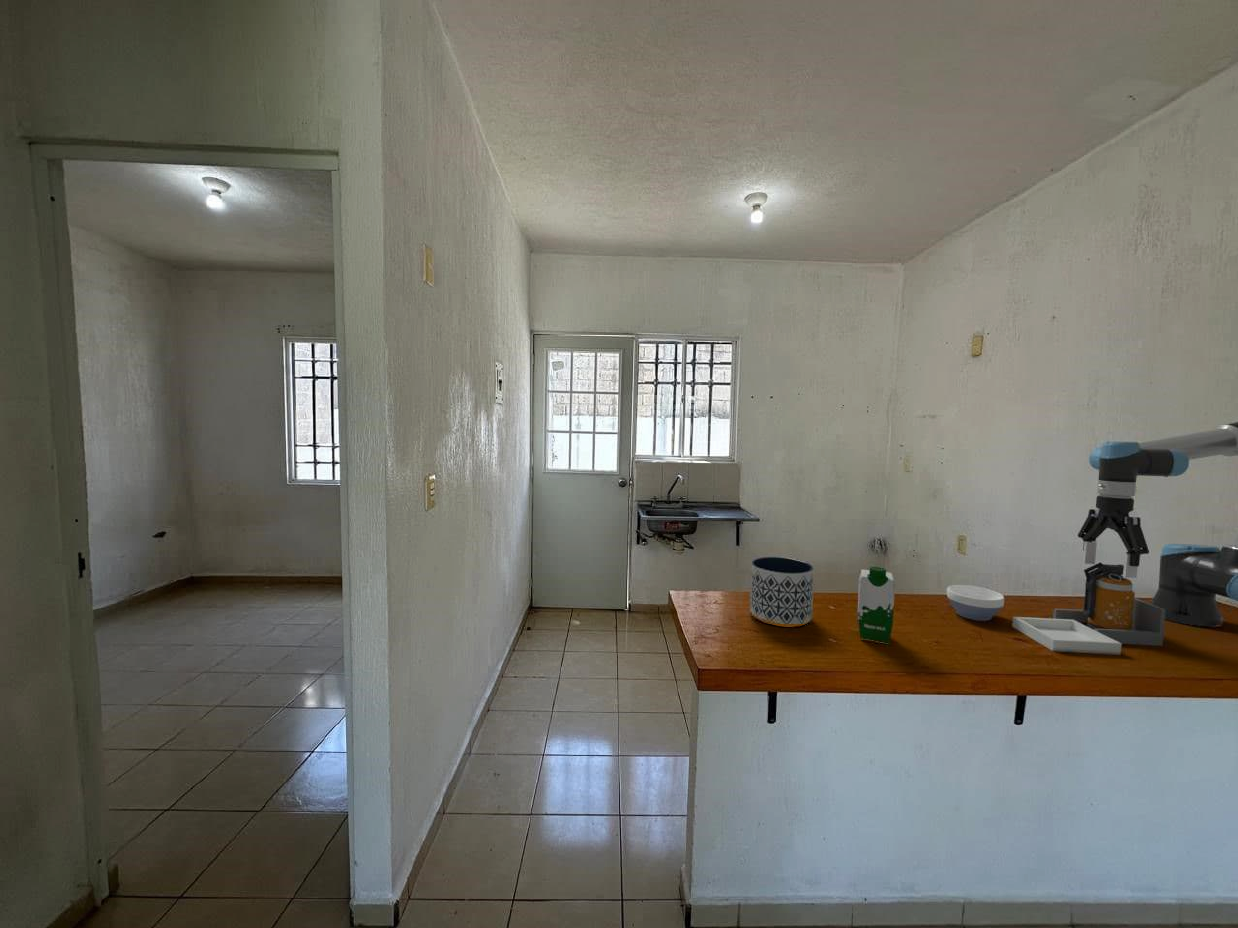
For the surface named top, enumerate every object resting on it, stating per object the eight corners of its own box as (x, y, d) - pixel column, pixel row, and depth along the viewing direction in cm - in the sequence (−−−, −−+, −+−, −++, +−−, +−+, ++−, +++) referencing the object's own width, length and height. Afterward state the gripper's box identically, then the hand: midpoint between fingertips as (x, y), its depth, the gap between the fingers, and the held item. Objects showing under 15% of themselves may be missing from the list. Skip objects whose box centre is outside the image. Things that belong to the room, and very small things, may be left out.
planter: (769, 602, 165) (770, 553, 164) (822, 617, 152) (824, 565, 151) (738, 616, 153) (739, 563, 152) (793, 634, 140) (795, 577, 139)
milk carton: (856, 640, 136) (859, 569, 134) (856, 628, 144) (859, 561, 142) (893, 646, 132) (896, 573, 130) (890, 634, 140) (894, 564, 139)
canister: (1140, 640, 137) (1146, 569, 136) (1093, 636, 139) (1098, 566, 138) (1114, 627, 146) (1120, 560, 144) (1071, 624, 148) (1076, 558, 146)
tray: (1072, 629, 144) (1073, 619, 144) (1120, 654, 128) (1121, 643, 128) (1012, 626, 146) (1012, 616, 146) (1052, 650, 130) (1053, 639, 130)
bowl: (951, 620, 150) (953, 596, 150) (941, 604, 164) (942, 582, 163) (1010, 628, 145) (1012, 603, 144) (994, 611, 158) (995, 588, 158)
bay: (1111, 622, 149) (1114, 590, 149) (1162, 645, 134) (1165, 609, 133) (1053, 619, 151) (1055, 587, 151) (1096, 642, 136) (1099, 606, 135)
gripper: (1066, 490, 152) (1060, 557, 154) (1141, 502, 128) (1133, 582, 129) (1093, 490, 151) (1087, 559, 153) (1173, 503, 127) (1165, 584, 128)
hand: (1108, 570), depth 141 cm, fingers open, 13 cm apart
